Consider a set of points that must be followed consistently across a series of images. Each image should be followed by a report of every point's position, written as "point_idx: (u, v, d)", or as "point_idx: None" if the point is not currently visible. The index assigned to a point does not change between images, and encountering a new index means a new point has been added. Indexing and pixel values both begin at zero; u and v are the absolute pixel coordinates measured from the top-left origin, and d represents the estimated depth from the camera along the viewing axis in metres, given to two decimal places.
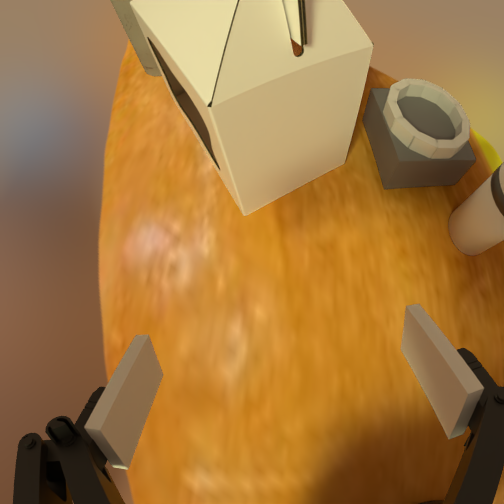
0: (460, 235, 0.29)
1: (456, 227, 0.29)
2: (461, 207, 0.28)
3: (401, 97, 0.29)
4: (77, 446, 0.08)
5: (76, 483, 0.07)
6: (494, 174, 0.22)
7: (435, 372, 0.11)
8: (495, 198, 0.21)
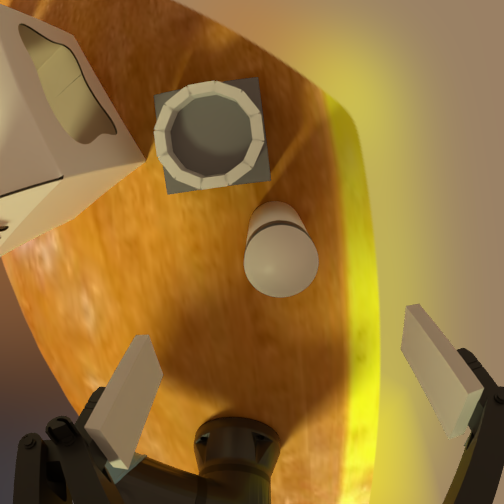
0: None
1: None
2: (251, 220, 0.34)
3: (186, 104, 0.27)
4: (77, 446, 0.08)
5: (76, 483, 0.07)
6: (250, 237, 0.27)
7: (435, 372, 0.11)
8: None
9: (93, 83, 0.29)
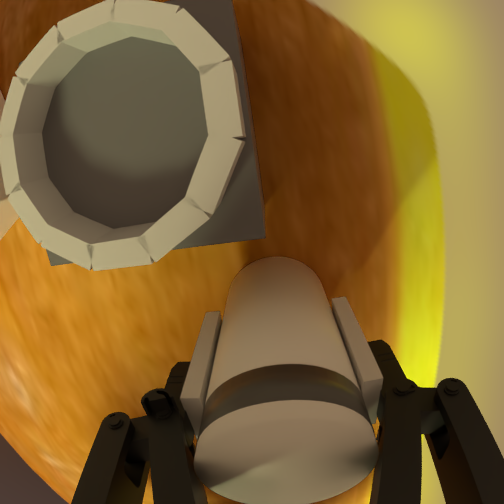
0: None
1: None
2: (228, 305, 0.16)
3: (68, 68, 0.10)
4: (172, 421, 0.10)
5: (160, 459, 0.08)
6: (210, 404, 0.09)
7: None
8: None
9: None
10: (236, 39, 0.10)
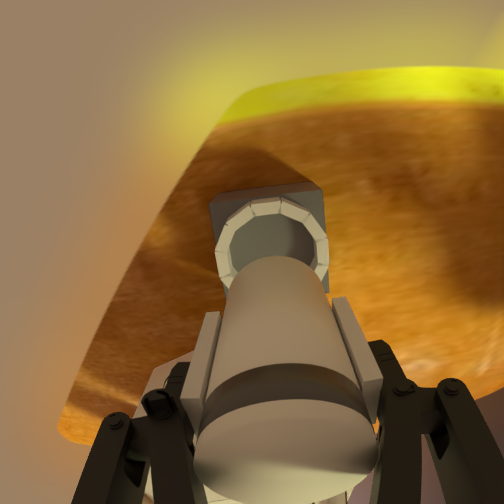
0: None
1: None
2: (228, 304, 0.16)
3: None
4: (172, 421, 0.10)
5: (160, 459, 0.08)
6: (210, 404, 0.09)
7: None
8: None
9: None
10: (235, 200, 0.28)
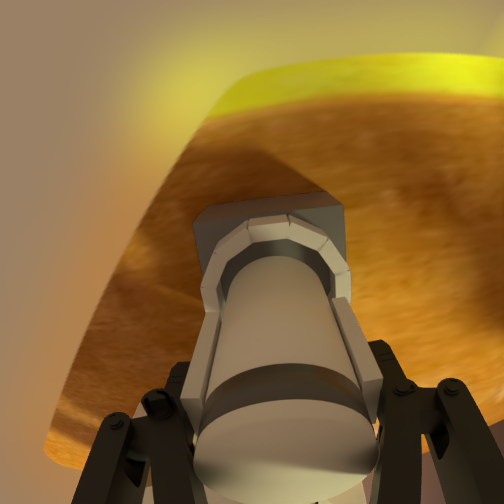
0: None
1: None
2: (228, 304, 0.16)
3: None
4: (172, 421, 0.10)
5: (160, 459, 0.08)
6: (210, 404, 0.09)
7: None
8: None
9: None
10: (227, 218, 0.21)
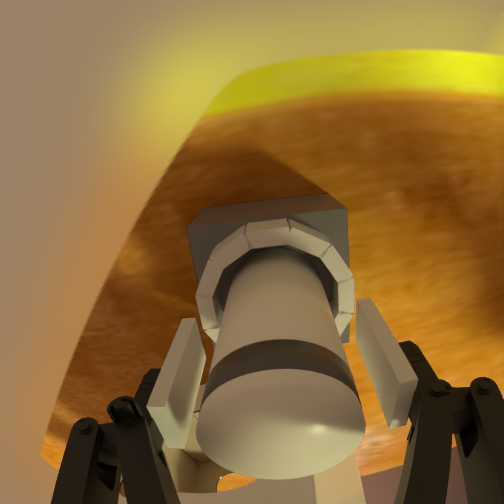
0: None
1: None
2: (230, 292, 0.18)
3: None
4: (138, 428, 0.09)
5: (130, 466, 0.08)
6: (212, 376, 0.11)
7: (377, 362, 0.12)
8: None
9: None
10: (224, 223, 0.20)
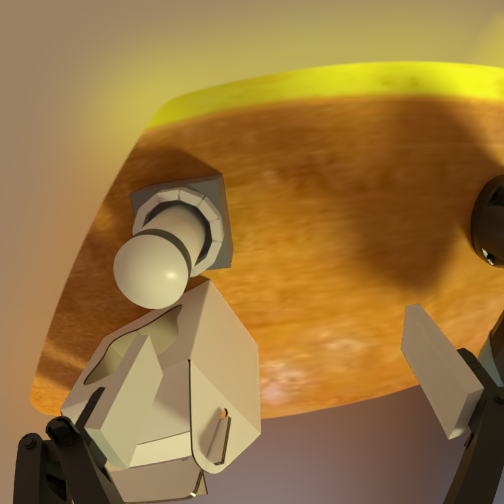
0: None
1: None
2: None
3: None
4: (77, 446, 0.08)
5: (76, 483, 0.07)
6: None
7: (435, 372, 0.11)
8: None
9: (142, 321, 0.43)
10: (149, 190, 0.33)
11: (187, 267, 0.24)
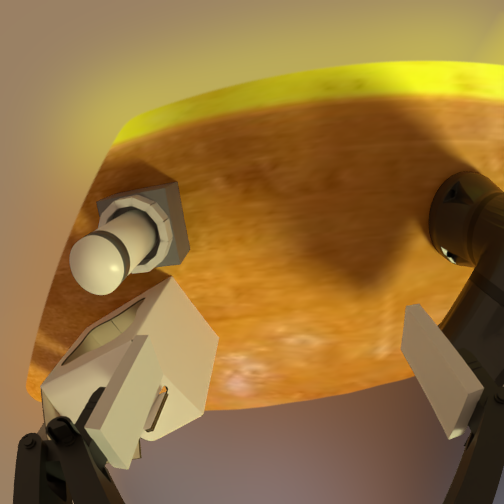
0: None
1: None
2: None
3: None
4: (77, 446, 0.08)
5: (76, 483, 0.07)
6: None
7: (435, 372, 0.11)
8: None
9: (115, 313, 0.48)
10: (111, 198, 0.38)
11: (123, 261, 0.29)
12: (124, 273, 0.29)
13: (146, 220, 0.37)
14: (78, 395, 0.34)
